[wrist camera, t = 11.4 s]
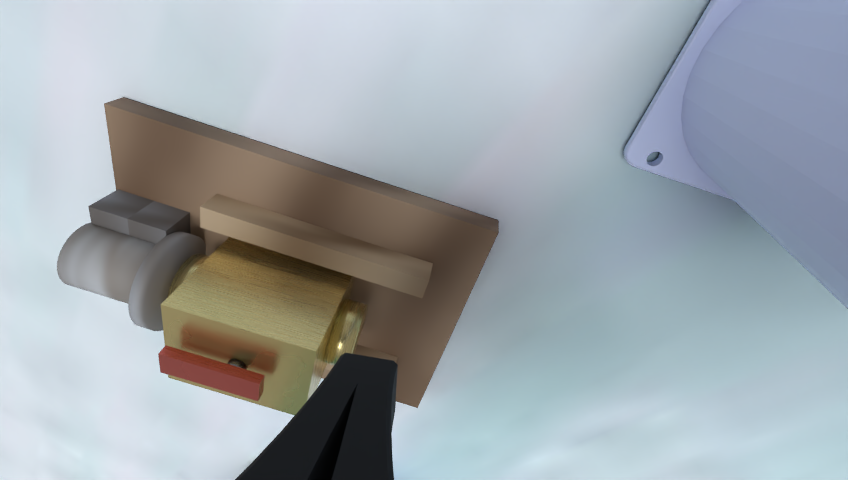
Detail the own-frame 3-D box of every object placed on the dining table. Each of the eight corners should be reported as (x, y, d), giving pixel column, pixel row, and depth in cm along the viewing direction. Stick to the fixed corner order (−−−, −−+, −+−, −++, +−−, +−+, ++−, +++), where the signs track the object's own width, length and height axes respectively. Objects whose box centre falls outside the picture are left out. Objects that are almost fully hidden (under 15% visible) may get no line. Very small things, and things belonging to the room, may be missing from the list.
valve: (378, 273, 19) (336, 378, 14) (362, 334, 21) (321, 444, 16) (214, 222, 19) (114, 311, 14) (215, 289, 21) (128, 386, 16)
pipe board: (498, 220, 18) (498, 299, 13) (420, 392, 24) (403, 482, 20) (123, 97, 17) (-2, 138, 13) (147, 307, 24) (70, 380, 19)
